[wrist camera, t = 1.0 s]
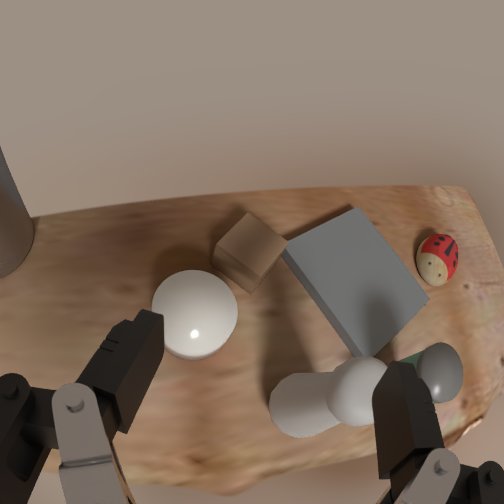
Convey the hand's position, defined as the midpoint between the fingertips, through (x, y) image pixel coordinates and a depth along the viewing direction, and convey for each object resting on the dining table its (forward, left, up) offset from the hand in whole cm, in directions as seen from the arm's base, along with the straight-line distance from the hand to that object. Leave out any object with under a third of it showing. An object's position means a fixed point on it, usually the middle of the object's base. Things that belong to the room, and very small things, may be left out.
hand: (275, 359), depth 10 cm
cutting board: (-2, +21, -18) cm, 28 cm away
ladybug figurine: (+3, +35, -19) cm, 39 cm away
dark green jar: (+10, +15, -18) cm, 25 cm away
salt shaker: (+5, +6, -18) cm, 20 cm away
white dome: (-7, +2, -18) cm, 20 cm away
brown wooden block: (-10, +10, -18) cm, 23 cm away
